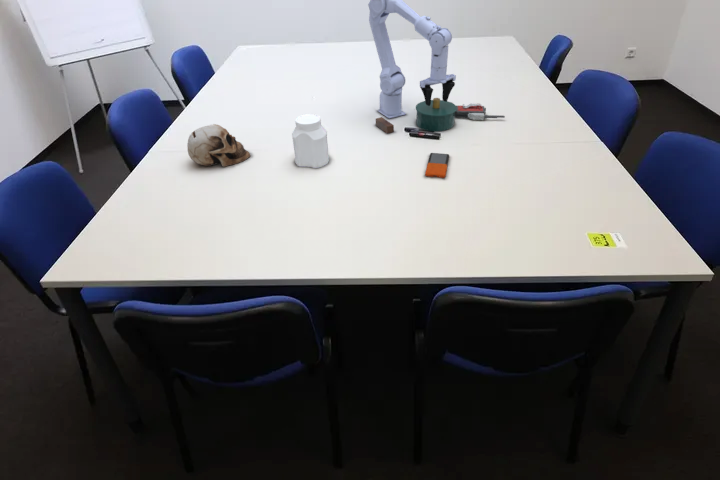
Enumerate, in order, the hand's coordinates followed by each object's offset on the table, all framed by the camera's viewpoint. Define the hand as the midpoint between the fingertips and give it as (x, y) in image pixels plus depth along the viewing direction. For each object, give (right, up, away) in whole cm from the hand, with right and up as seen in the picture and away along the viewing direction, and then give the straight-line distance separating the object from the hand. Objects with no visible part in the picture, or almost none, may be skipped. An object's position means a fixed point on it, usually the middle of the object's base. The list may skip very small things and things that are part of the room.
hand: (436, 102), depth 177 cm
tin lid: (0, -2, +1) cm, 2 cm away
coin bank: (-77, -24, -13) cm, 81 cm away
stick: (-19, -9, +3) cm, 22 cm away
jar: (-45, -25, -16) cm, 54 cm away
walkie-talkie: (+18, -3, +9) cm, 20 cm away
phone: (-3, -28, -22) cm, 36 cm away
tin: (0, -7, +5) cm, 8 cm away
